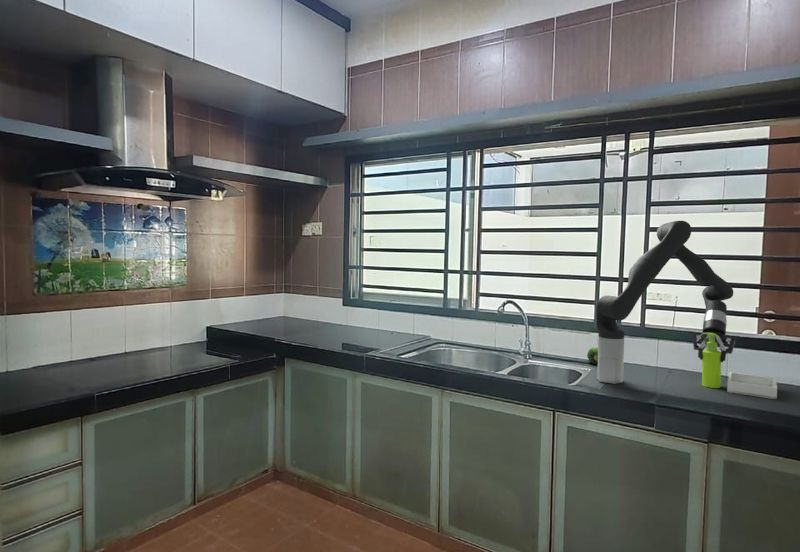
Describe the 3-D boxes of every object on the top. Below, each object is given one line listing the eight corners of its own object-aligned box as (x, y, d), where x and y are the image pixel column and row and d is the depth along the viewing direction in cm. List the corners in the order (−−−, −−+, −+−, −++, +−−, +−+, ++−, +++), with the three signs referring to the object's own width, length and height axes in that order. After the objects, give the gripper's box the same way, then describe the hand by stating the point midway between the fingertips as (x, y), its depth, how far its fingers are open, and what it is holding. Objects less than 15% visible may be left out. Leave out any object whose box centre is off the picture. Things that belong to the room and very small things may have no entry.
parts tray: (776, 399, 162) (777, 388, 162) (727, 392, 170) (727, 381, 170) (774, 388, 175) (775, 378, 175) (728, 382, 183) (729, 372, 183)
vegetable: (592, 346, 209) (592, 339, 227) (584, 360, 210) (584, 351, 229) (608, 355, 206) (606, 347, 225) (599, 369, 208) (599, 360, 226)
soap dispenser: (711, 382, 182) (712, 331, 181) (724, 387, 175) (725, 334, 174) (696, 383, 182) (697, 331, 181) (708, 388, 175) (709, 334, 174)
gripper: (692, 316, 187) (688, 351, 178) (737, 320, 179) (735, 356, 170) (693, 328, 192) (689, 362, 183) (737, 332, 183) (734, 368, 174)
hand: (711, 359), depth 176 cm, fingers closed on soap dispenser, 6 cm apart
